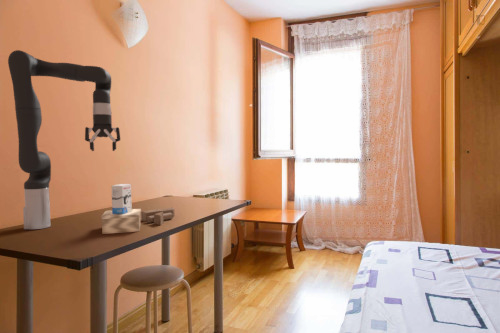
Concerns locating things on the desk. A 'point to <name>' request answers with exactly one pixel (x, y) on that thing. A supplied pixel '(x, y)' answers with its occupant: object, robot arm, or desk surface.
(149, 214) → the wooden block set
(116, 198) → the ink box
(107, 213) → the chevron patterned box
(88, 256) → the desk surface
